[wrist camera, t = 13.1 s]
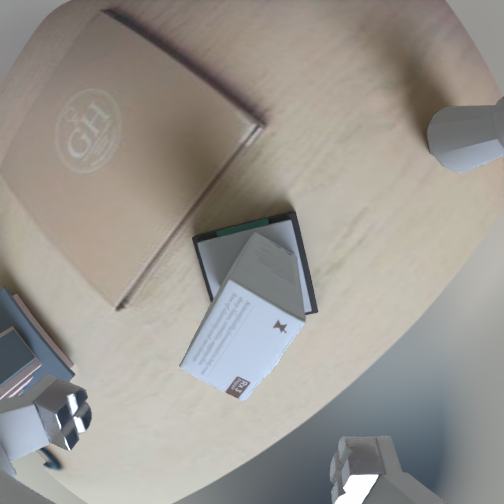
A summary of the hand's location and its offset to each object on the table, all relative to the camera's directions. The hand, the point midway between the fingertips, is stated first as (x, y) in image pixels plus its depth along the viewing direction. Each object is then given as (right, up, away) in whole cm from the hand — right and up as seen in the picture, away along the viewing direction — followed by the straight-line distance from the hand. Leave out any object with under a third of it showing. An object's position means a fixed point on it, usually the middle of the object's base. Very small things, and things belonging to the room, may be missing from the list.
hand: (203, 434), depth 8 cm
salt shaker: (+19, +16, +16) cm, 29 cm away
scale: (+2, +4, +20) cm, 20 cm away
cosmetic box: (+2, +4, +18) cm, 19 cm away
